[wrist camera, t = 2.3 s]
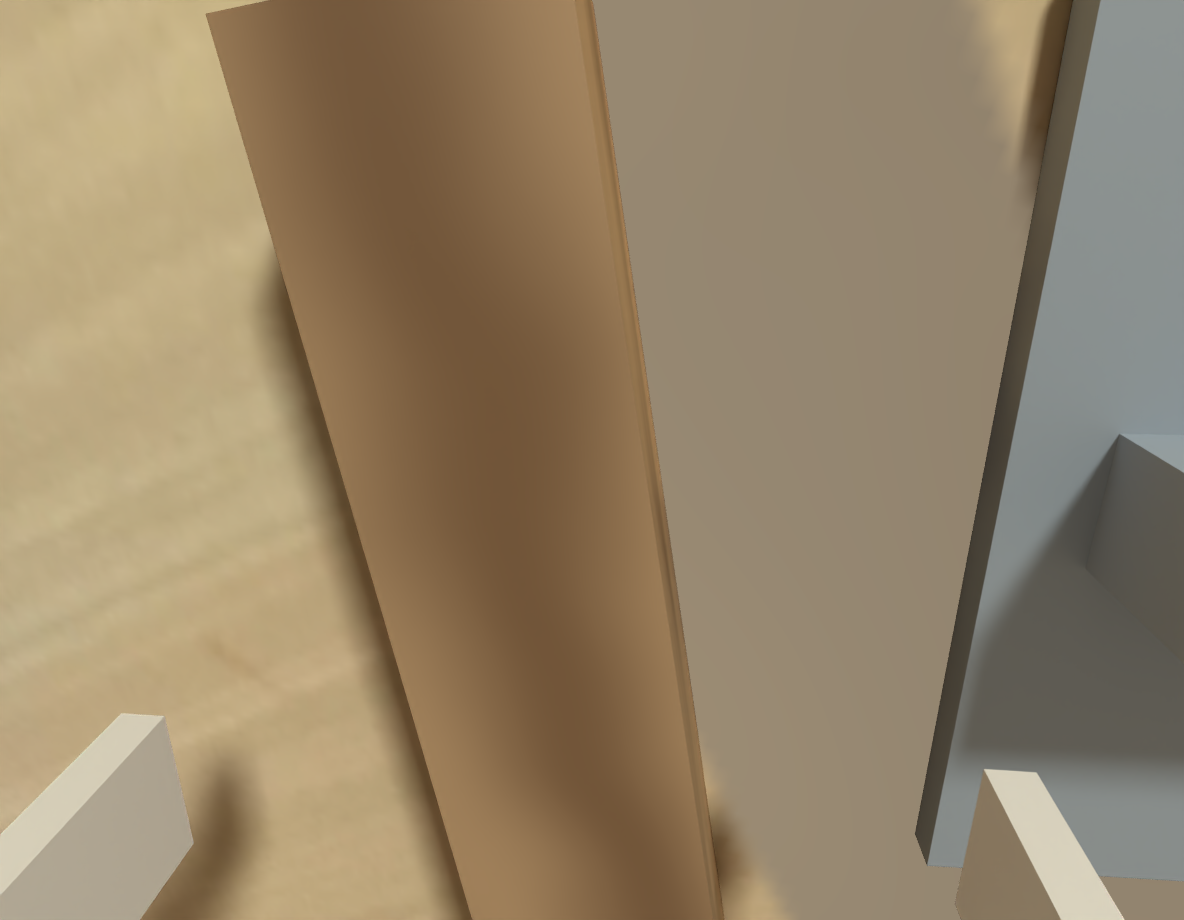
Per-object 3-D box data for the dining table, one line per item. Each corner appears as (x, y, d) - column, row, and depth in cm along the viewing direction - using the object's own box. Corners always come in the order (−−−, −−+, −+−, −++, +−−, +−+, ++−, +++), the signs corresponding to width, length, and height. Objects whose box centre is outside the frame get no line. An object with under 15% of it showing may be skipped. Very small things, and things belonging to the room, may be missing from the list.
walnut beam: (558, 939, 24) (534, 1131, 19) (340, 55, 15) (205, 13, 11) (726, 931, 23) (744, 1127, 18) (593, 5, 15) (564, -63, 10)
